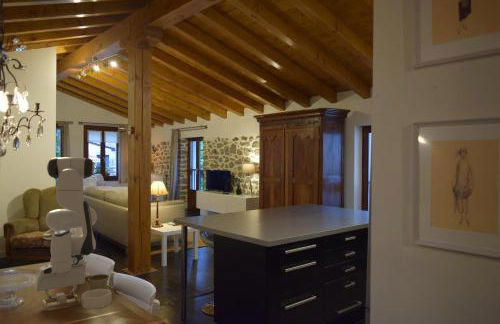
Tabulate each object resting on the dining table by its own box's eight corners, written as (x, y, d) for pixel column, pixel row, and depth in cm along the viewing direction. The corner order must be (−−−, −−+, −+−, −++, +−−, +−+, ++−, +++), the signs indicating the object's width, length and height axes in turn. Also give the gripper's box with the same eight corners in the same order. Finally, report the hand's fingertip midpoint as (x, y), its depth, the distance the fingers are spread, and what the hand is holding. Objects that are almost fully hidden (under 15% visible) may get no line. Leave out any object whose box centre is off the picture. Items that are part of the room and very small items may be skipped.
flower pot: (101, 299, 175) (101, 280, 175) (83, 297, 177) (83, 279, 177) (112, 292, 184) (112, 274, 184) (95, 290, 186) (95, 273, 186)
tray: (42, 304, 168) (42, 299, 168) (75, 297, 176) (75, 293, 176) (45, 312, 158) (45, 307, 158) (80, 305, 166) (80, 300, 166)
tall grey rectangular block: (56, 301, 170) (56, 293, 170) (63, 299, 172) (63, 292, 172) (57, 303, 167) (57, 296, 167) (64, 302, 168) (64, 294, 168)
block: (57, 304, 166) (57, 296, 166) (65, 303, 168) (65, 295, 168) (59, 307, 163) (59, 299, 163) (66, 306, 164) (66, 298, 164)
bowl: (79, 303, 169) (79, 292, 169) (106, 298, 176) (106, 287, 176) (85, 312, 159) (85, 300, 159) (113, 306, 166) (113, 294, 166)
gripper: (83, 261, 178) (83, 290, 178) (35, 268, 166) (34, 299, 165) (87, 264, 173) (86, 294, 172) (36, 271, 161) (36, 303, 160)
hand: (60, 296), depth 169 cm, fingers open, 8 cm apart
